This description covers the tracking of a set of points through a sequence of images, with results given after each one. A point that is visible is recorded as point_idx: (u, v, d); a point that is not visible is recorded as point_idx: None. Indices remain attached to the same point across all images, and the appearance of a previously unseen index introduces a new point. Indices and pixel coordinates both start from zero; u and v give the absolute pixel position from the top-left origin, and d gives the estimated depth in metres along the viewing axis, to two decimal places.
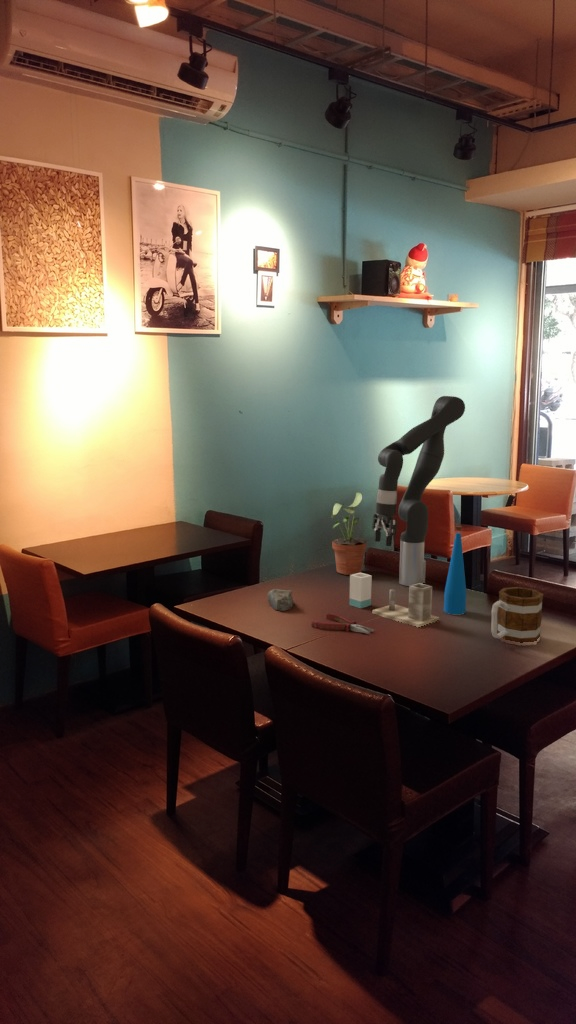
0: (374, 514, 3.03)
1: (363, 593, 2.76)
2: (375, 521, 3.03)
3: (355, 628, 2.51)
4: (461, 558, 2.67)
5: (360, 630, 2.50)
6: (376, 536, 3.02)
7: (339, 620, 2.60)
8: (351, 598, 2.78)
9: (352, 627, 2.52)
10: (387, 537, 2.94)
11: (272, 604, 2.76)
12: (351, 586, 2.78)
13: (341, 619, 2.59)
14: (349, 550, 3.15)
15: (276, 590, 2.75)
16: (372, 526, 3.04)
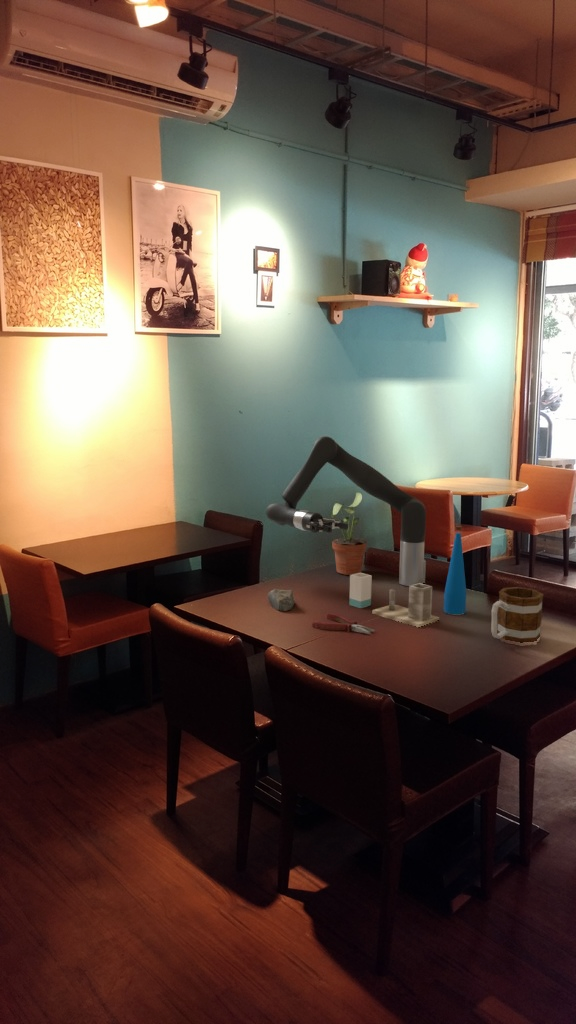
0: (330, 524, 2.94)
1: (363, 593, 2.76)
2: (335, 524, 2.92)
3: (356, 628, 2.51)
4: (461, 558, 2.67)
5: (361, 630, 2.50)
6: (342, 527, 2.87)
7: (340, 621, 2.60)
8: (351, 598, 2.78)
9: (353, 627, 2.52)
10: (323, 530, 2.82)
11: (274, 605, 2.76)
12: (351, 586, 2.78)
13: (342, 619, 2.59)
14: (349, 550, 3.15)
15: (277, 590, 2.75)
16: None
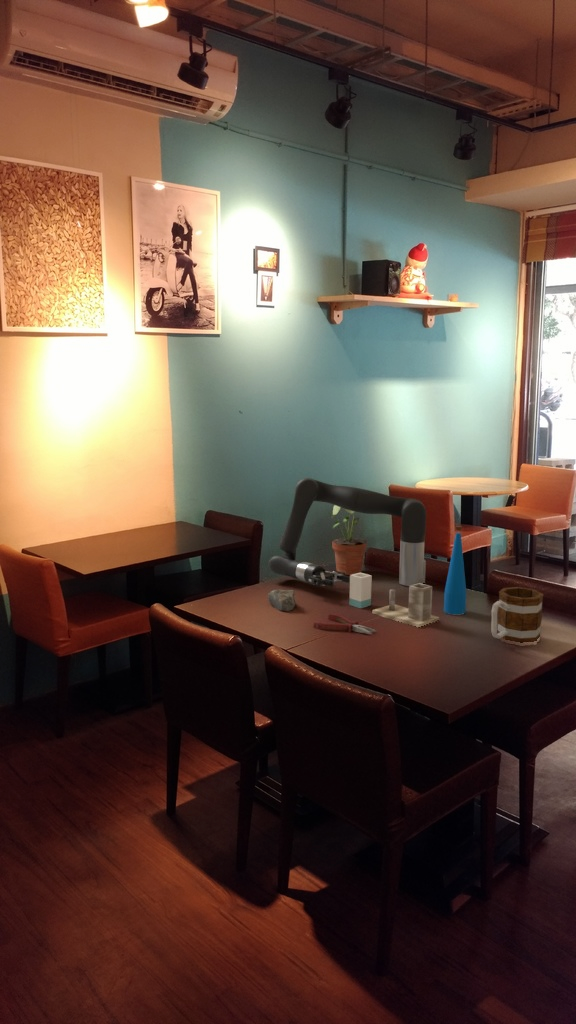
0: (333, 576, 2.97)
1: (363, 593, 2.76)
2: (337, 577, 2.94)
3: (357, 628, 2.51)
4: (461, 558, 2.67)
5: (362, 630, 2.49)
6: (344, 580, 2.89)
7: (341, 621, 2.60)
8: (351, 598, 2.78)
9: (354, 627, 2.52)
10: (325, 584, 2.84)
11: (275, 605, 2.75)
12: (351, 586, 2.78)
13: (343, 619, 2.59)
14: (349, 550, 3.15)
15: (279, 590, 2.75)
16: None
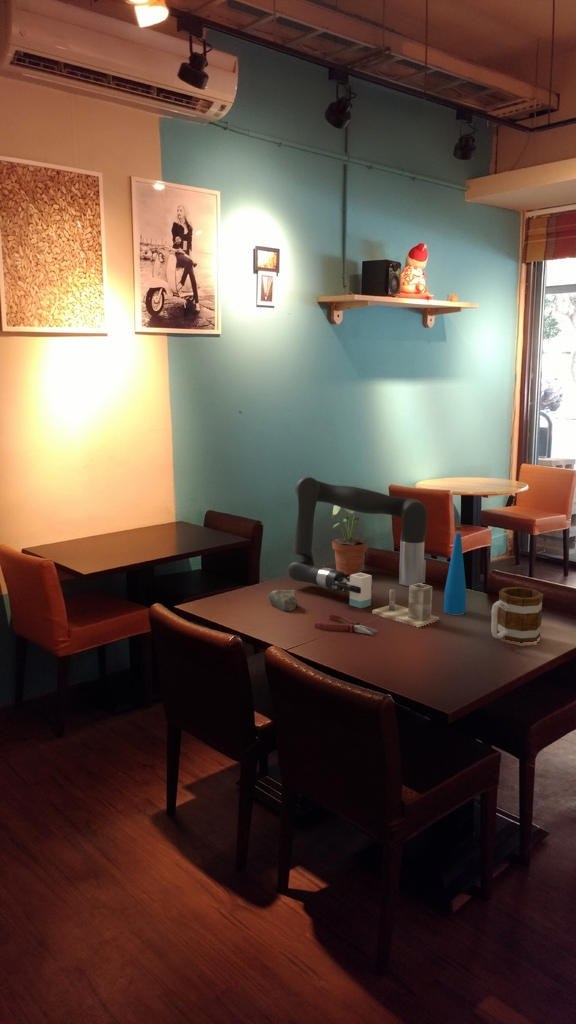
0: None
1: (363, 593, 2.76)
2: None
3: (358, 629, 2.50)
4: (461, 558, 2.67)
5: (363, 631, 2.49)
6: None
7: (342, 621, 2.59)
8: (351, 598, 2.78)
9: (355, 628, 2.51)
10: (352, 591, 2.77)
11: (277, 605, 2.75)
12: None
13: (344, 620, 2.58)
14: (349, 550, 3.15)
15: (280, 591, 2.75)
16: None
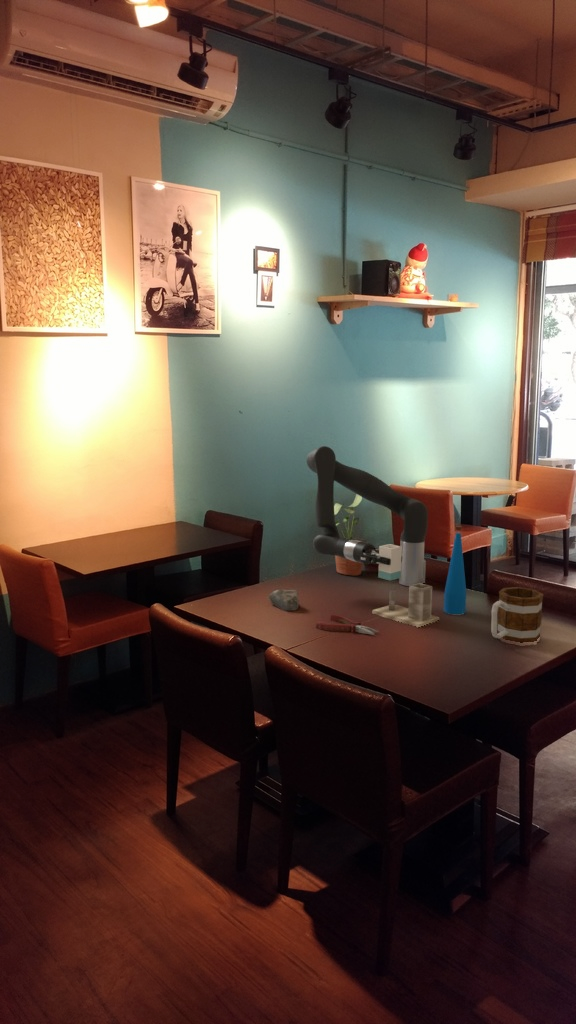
0: None
1: (393, 565, 2.65)
2: None
3: (360, 629, 2.50)
4: (461, 558, 2.67)
5: (365, 631, 2.49)
6: None
7: (344, 622, 2.59)
8: (380, 570, 2.68)
9: (357, 628, 2.51)
10: (381, 562, 2.66)
11: (279, 605, 2.75)
12: None
13: (346, 620, 2.58)
14: None
15: (282, 591, 2.75)
16: None
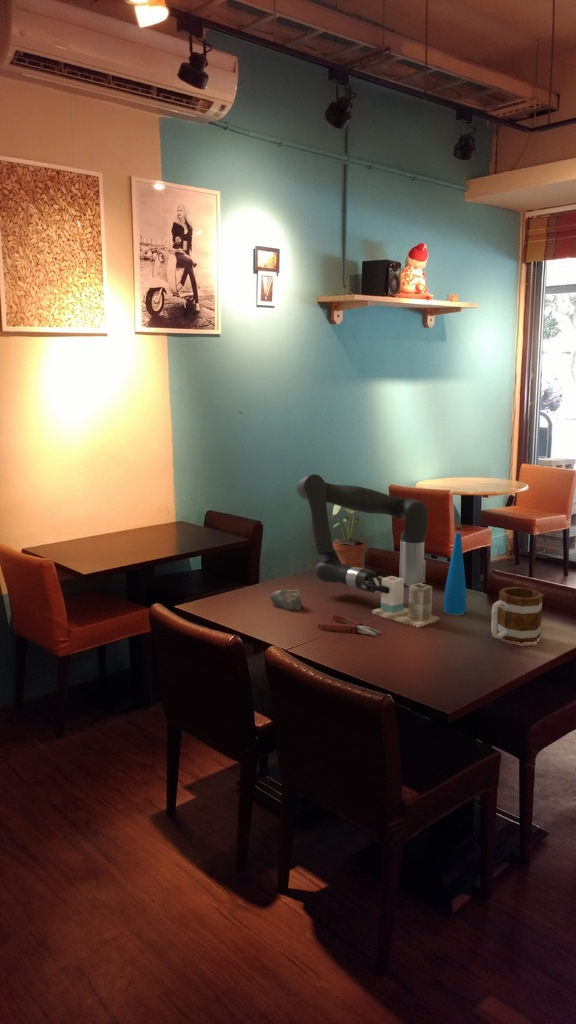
0: None
1: (396, 597, 2.67)
2: None
3: (361, 630, 2.50)
4: (461, 558, 2.67)
5: (366, 632, 2.48)
6: None
7: (346, 622, 2.59)
8: (383, 602, 2.69)
9: (358, 629, 2.51)
10: None
11: (282, 606, 2.74)
12: None
13: (347, 620, 2.58)
14: (349, 550, 3.15)
15: (285, 591, 2.74)
16: None
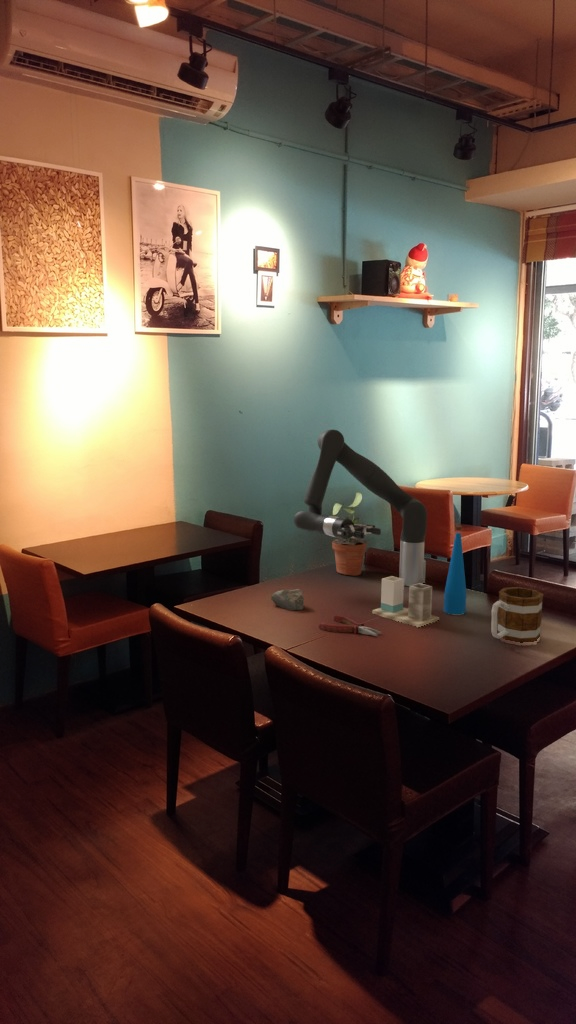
0: (362, 530, 2.85)
1: (396, 597, 2.67)
2: (366, 530, 2.83)
3: (363, 630, 2.49)
4: (461, 558, 2.67)
5: (368, 632, 2.48)
6: (375, 533, 2.77)
7: (347, 622, 2.58)
8: (383, 602, 2.69)
9: (360, 629, 2.50)
10: (355, 536, 2.73)
11: (285, 606, 2.74)
12: (383, 590, 2.69)
13: (349, 621, 2.57)
14: (349, 550, 3.15)
15: (287, 591, 2.74)
16: None
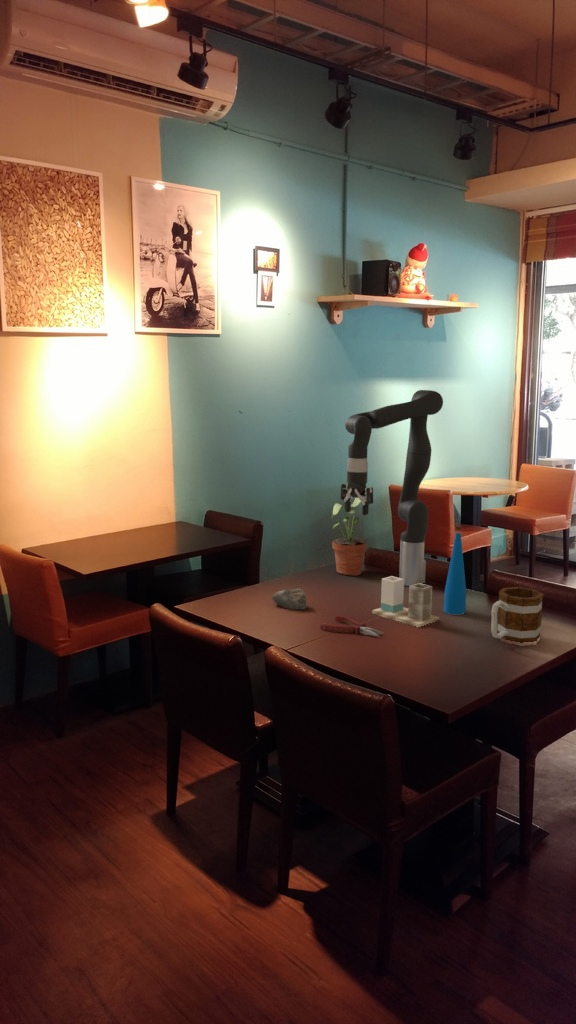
0: (342, 484, 2.92)
1: (396, 597, 2.67)
2: (344, 491, 2.93)
3: (364, 631, 2.49)
4: (461, 558, 2.67)
5: (369, 633, 2.47)
6: (347, 506, 2.93)
7: (349, 623, 2.58)
8: (383, 602, 2.69)
9: (361, 630, 2.50)
10: (364, 506, 2.86)
11: (287, 606, 2.74)
12: (383, 590, 2.69)
13: (350, 621, 2.57)
14: (349, 550, 3.15)
15: (290, 591, 2.75)
16: (340, 497, 2.94)
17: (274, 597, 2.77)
